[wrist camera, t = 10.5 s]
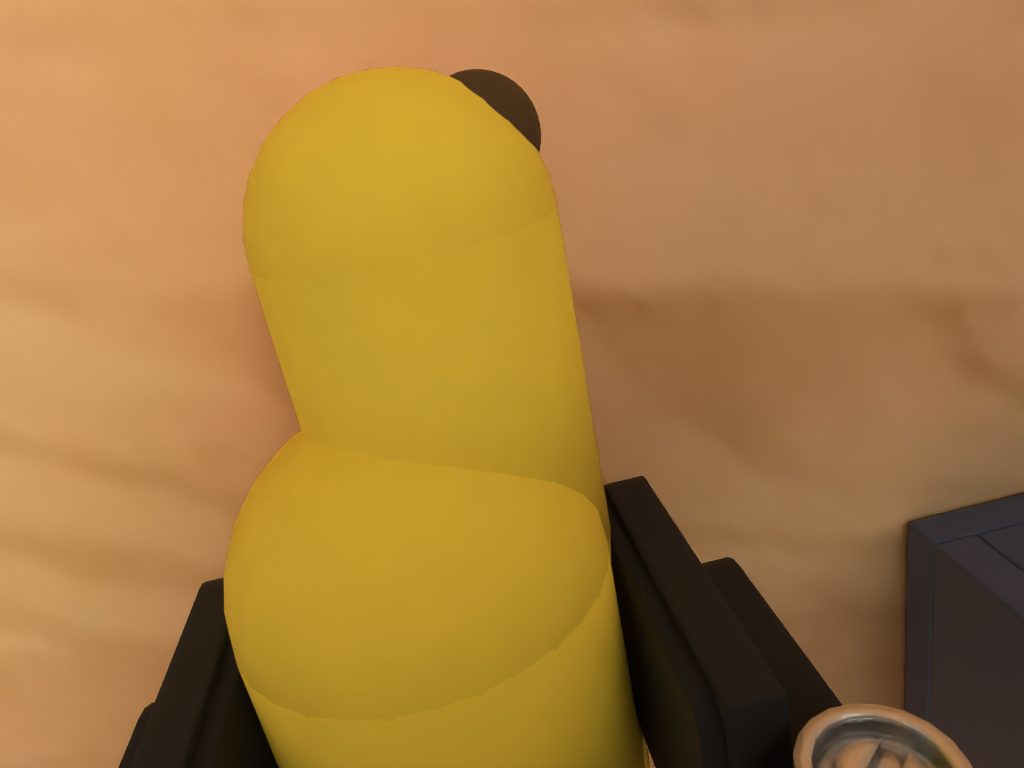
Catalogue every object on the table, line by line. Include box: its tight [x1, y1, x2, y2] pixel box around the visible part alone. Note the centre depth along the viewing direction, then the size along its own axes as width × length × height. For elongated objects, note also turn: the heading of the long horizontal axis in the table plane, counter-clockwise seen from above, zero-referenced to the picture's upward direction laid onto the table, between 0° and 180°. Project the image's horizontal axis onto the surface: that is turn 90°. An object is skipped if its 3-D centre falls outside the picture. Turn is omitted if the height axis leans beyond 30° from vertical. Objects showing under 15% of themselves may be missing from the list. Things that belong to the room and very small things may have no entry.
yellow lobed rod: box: [224, 66, 650, 768], centre depth 9 cm, size 14×4×4 cm, turn 11°
